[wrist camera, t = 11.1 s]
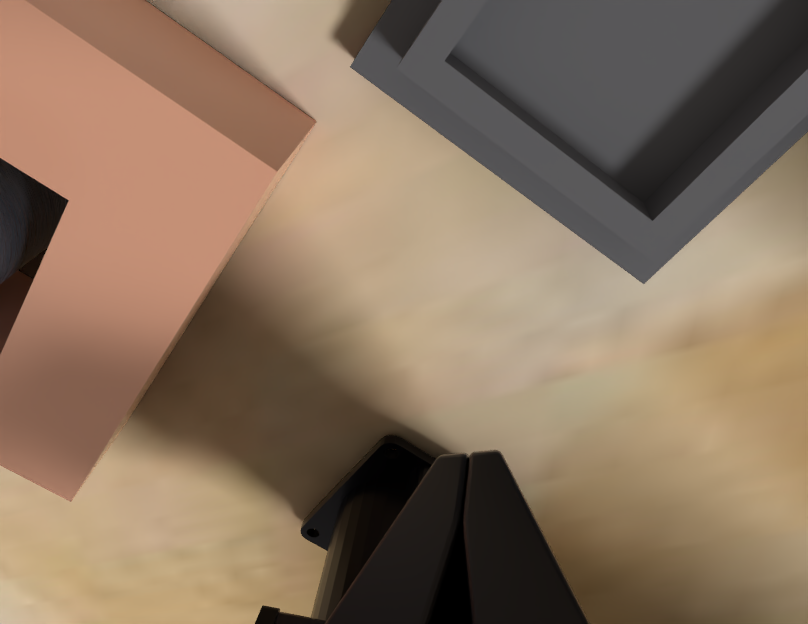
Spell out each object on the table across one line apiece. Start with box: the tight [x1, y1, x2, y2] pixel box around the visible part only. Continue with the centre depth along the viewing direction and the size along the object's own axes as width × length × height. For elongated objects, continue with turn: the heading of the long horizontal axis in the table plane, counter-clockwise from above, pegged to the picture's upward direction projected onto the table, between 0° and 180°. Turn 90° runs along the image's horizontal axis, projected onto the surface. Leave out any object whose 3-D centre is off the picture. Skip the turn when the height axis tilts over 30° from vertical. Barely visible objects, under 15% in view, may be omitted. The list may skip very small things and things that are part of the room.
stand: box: [350, 0, 808, 284], centre depth 16 cm, size 10×10×2 cm
